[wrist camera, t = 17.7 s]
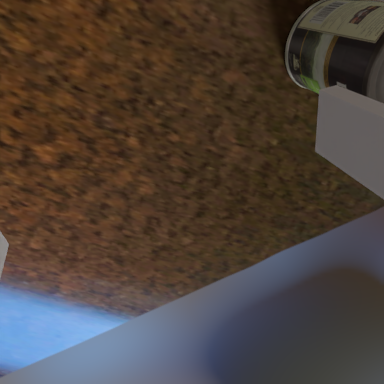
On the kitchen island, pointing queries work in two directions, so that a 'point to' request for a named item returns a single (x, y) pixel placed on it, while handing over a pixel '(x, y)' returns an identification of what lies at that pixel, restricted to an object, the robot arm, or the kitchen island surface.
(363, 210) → the kitchen island surface
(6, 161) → the kitchen island surface
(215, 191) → the kitchen island surface
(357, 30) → the coffee can
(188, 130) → the kitchen island surface
